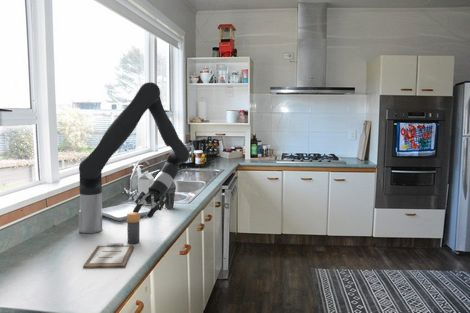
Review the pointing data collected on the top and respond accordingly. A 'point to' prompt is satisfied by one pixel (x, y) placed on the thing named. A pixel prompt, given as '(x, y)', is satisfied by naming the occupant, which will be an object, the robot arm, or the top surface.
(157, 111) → the robot arm
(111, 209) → the salad plate
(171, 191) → the beverage cup
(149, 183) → the milk carton
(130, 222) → the orange-capped grey cylinder
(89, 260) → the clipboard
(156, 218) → the top surface
